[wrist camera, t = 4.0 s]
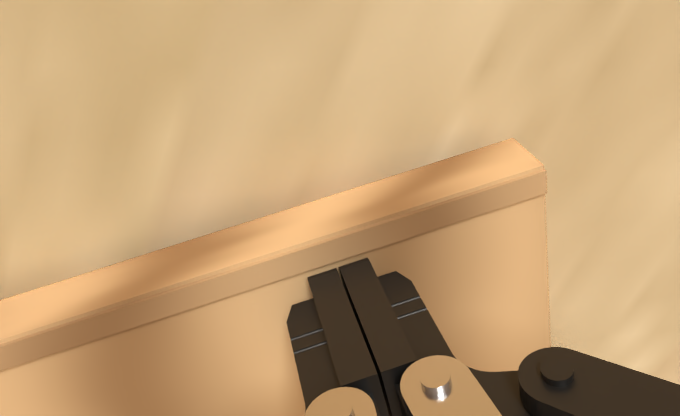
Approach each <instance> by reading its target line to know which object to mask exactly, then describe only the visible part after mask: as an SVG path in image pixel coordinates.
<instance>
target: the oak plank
mask: <svg viewBox="0 0 680 416" xmlns="http://www.w3.org/2000/svg"><path fill="white" fill-rule="evenodd" d="M546 193H547V176H546V170H545V169H544V165H543V164H542V163H541V162H540V161H539V160H537V159H536V158H535V157H534V156H533V155H532V154H531V153H530V152H528V151H527V150H526V149H525V148H524V147H523V146H522V145H521V144H519V143H518V142H517V141H516V140H515V139H514V138H511V139H508V140H505V141H502V142H498V143H495V144H492V145H489V146H486V147H483V148H480V149H476V150H473V151H470V152H467V153H464V154H461V155H457V156H454V157H451V158H448V159H445V160H442V161H438V162H435V163H432V164H429V165H426V166H423V167H420V168H416V169H413V170H410V171H407V172H404V173H401V174H397V175H394V176H391V177H388V178H385V179H382V180H378V181H375V182H372V183H369V184H366V185H363V186H360V187H356V188H353V189H350V190H347V191H344V192H341V193H337V194H334V195H331V196H328V197H325V198H322V199H318V200H315V201H312V202H309V203H306V204H303V205H300V206H296V207H293V208H290V209H287V210H284V211H281V212H277V213H274V214H271V215H268V216H265V217H262V218H258V219H255V220H252V221H249V222H246V223H243V224H240V225H236V226H233V227H230V228H227V229H224V230H221V231H217V232H214V233H211V234H208V235H205V236H202V237H198V238H195V239H192V240H189V241H186V242H183V243H180V244H176V245H173V246H170V247H167V248H164V249H161V250H157V251H154V252H151V253H148V254H145V255H142V256H138V257H135V258H132V259H129V260H126V261H123V262H120V263H116V264H113V265H110V266H107V267H104V268H101V269H97V270H94V271H91V272H88V273H85V274H82V275H78V276H75V277H72V278H69V279H66V280H63V281H60V282H56V283H53V284H50V285H47V286H44V287H41V288H37V289H34V290H31V291H28V292H25V293H22V294H19V295H15V296H12V297H9V298H6V299H3V300H0V416H304V415H305V402H304V397H303V393H302V388H301V384H300V380H299V375H298V371H297V366H296V362H295V358H294V353H293V349H292V345H291V340H290V336H289V331H288V327H287V323H286V322H287V319H288V316H289V313H290V309H291V306H292V305H294V304H297V303H300V302H303V301H306V300H309V299H312V298H313V295H312V292H311V289H310V285H309V282H308V279H307V277H309V276H312V275H315V274H319V273H322V272H325V271H328V270H331V269H334V268H337V271H338V273H339V276H340V278H341V275H340V271H339V267H340V266H343V265H346V264H349V263H352V262H355V261H358V260H361V259H364V258H367V257H368V259H369V261H370V263H371V265H372V267H373V269H374V271H375V273H376V275H377V277H378V276H382V275H385V274H388V273H391V272H394V271H397V272H398V273H400V274H402V275H403V276H405V277H406V278H408V279H409V280H411V281H412V283H413V284H414V286H415V288H416V290H417V292H418V293H419V295H420V298H421V299H422V300H423V302H424V304H425V306H426V308H427V310H428V311H429V313H430V315H431V316H432V318H433V320H434V322H435V324H436V325H437V327H438V329H439V331H440V332H441V334H442V336H443V338H444V340H445V341H446V343H447V345H448V347H449V348H450V350H451V352H452V354H453V355H454V356H455V358H456V359H458V360H459V361H461V362H463V363H464V364H465V365H466V366H468V367H470V368H473V369H475V370H480V371H486V372H501V371H517V370H518V369H519V366H520V364H521V362H522V361H523V359H524V358H525V357H526V356H528V355H529V354H530V353H532V352H534V351H536V350H539V349H543V348H548V347H551V343H550V316H549V289H548V262H547V235H546V208H545V194H546ZM341 281H342V278H341ZM342 283H343V282H342Z"/></svg>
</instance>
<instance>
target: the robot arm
mask: <svg viewBox="0 0 680 416" xmlns="http://www.w3.org/2000/svg"><path fill="white" fill-rule="evenodd" d="M339 271H340V275H341V278H342V281H341V278H340V276H339V273H338V271H337V268H334V269H331V270H328V271H325V272H322V273H319V274H315V275H312V276H309V277H307V279H308V282H309V285H310V289H311V292H312V295H313V298H312V299H309V300H306V301H303V302H300V303H297V304H294V305H292V306H291V309H290V313H289V316H288V319H287V322H286V323H287V327H288V331H289V336H290V340H291V345H292V349H293V353H294V358H295V362H296V366H297V371H298V375H299V380H300V384H301V388H302V393H303V397H304V402H305V415H304V416H680V385H678V384H675V383H672V382H669V381H666V380H663V379H660V378H657V377H654V376H651V375H648V374H645V373H642V372H638V371H635V370H632V369H629V368H626V367H623V366H620V365H617V364H614V363H611V362H608V361H605V360H602V359H599V358H596V357H593V356H590V355H587V354H583V353H580V352H577V351H574V350H571V349H567V348H561V347H548V348H543V349H539V350H536V351H534V352H532V353H530V354H529V355H528V356H526V357H525V358H524V359H523V361H522V362H521V364H520V366H519V369H518V370H517V371H501V372H486V371H480V370H475V369H473V368H470V367H468V366H466V365H465V364H464V363H463V362H461V361H459V360H458V359H456V358H455V356H454V355H453V354H452V352H451V350H450V348H449V347H448V345H447V343H446V341H445V340H444V338H443V336H442V334H441V332H440V331H439V329H438V327H437V325H436V324H435V322H434V320H433V318H432V316H431V315H430V313H429V311H428V310H427V308H426V306H425V304H424V302H423V300H422V299H421V298H420V295H419V293H418V292H417V290H416V288H415V286H414V284H413V283H412V281H411V280H409V279H408V278H406V277H405V276H403V275H402V274H400V273H398V272H397V271H394V272H391V273H388V274H385V275H382V276H378V277H377V275H376V273H375V271H374V269H373V267H372V265H371V263H370V261H369V259H368V257H367V258H364V259H361V260H358V261H355V262H352V263H349V264H346V265H343V266H340V267H339ZM342 282H343V283H342Z"/></svg>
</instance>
